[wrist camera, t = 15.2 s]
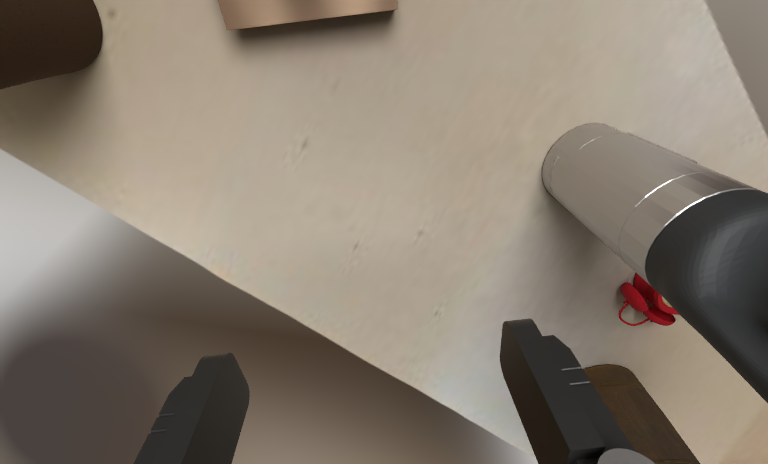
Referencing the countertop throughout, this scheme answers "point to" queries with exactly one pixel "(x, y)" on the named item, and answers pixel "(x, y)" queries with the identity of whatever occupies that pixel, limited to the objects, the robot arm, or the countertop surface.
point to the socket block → (294, 11)
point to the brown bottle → (46, 38)
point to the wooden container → (639, 416)
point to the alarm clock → (637, 297)
